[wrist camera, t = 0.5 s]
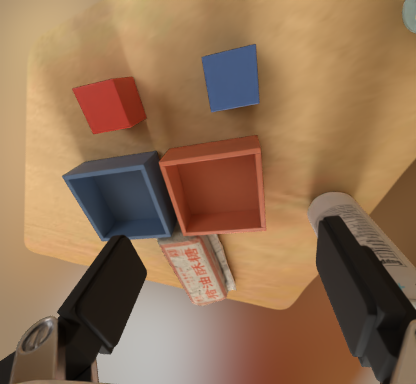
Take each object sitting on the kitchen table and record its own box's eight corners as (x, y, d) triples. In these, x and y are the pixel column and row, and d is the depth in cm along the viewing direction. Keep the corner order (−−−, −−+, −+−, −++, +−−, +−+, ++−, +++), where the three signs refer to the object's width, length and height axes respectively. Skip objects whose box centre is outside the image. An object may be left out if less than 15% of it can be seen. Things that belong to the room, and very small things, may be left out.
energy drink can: (314, 229, 31) (369, 344, 18) (298, 200, 28) (349, 308, 16) (358, 213, 28) (457, 332, 16) (344, 180, 26) (448, 288, 13)
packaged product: (141, 244, 29) (207, 235, 27) (153, 222, 33) (211, 212, 31) (184, 312, 38) (237, 309, 36) (189, 288, 42) (237, 284, 40)
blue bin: (84, 161, 29) (61, 176, 25) (156, 150, 27) (143, 164, 23) (116, 222, 35) (101, 241, 31) (178, 217, 33) (171, 237, 29)
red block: (98, 85, 24) (71, 88, 20) (133, 76, 23) (112, 78, 19) (114, 124, 26) (93, 134, 22) (146, 118, 25) (130, 127, 21)
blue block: (207, 58, 21) (201, 56, 17) (252, 47, 20) (255, 43, 16) (215, 105, 23) (211, 112, 19) (255, 97, 22) (259, 103, 19)
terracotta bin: (169, 148, 27) (158, 162, 23) (256, 134, 24) (260, 147, 21) (189, 216, 32) (183, 236, 28) (262, 210, 30) (266, 231, 26)
